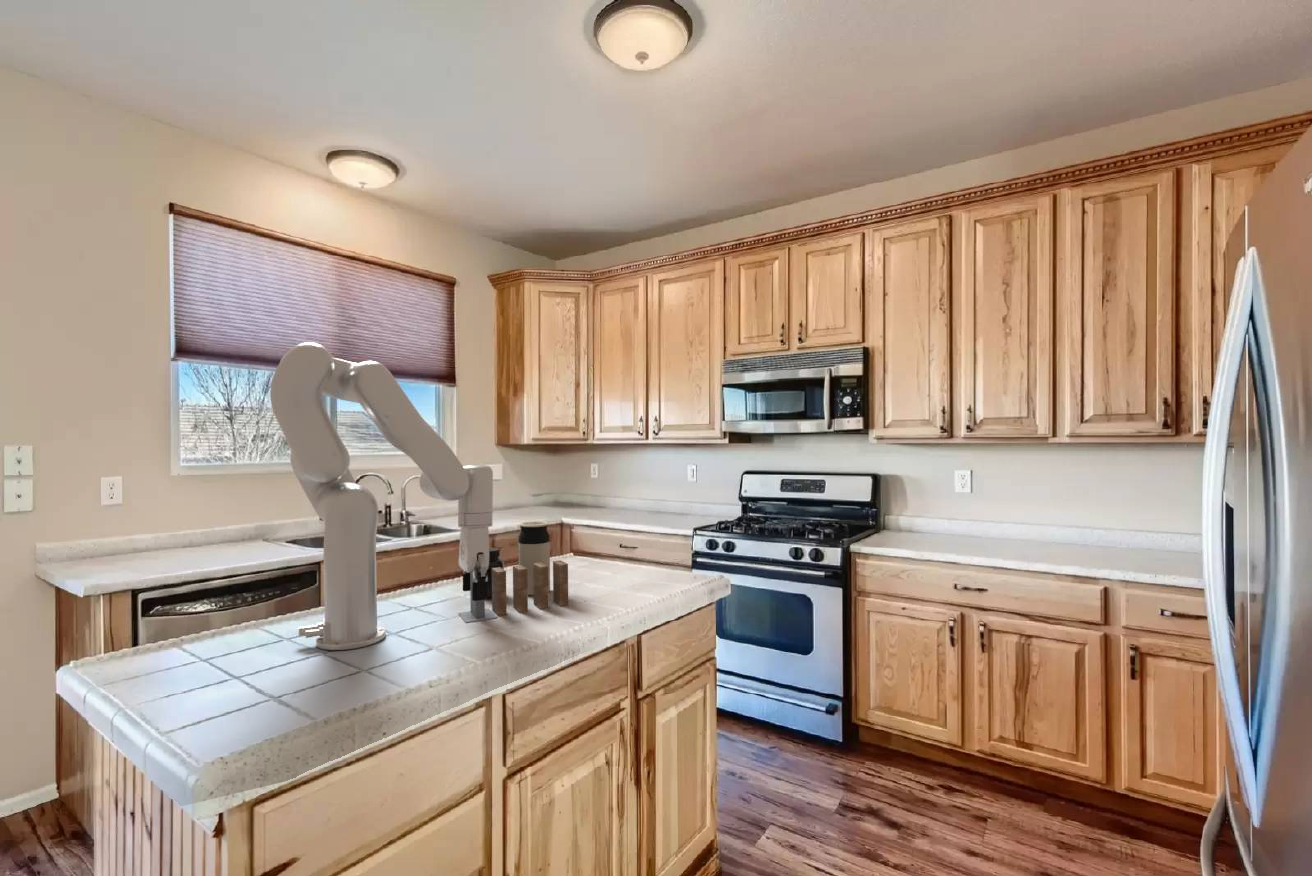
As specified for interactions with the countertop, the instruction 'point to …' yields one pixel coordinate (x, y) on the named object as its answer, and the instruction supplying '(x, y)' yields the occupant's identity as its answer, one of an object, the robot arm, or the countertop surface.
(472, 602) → the domino
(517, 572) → the domino
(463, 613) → the pad
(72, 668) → the countertop surface
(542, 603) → the domino
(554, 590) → the domino
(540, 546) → the travel mug
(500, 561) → the supplement bottle
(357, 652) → the countertop surface
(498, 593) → the domino
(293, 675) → the countertop surface
